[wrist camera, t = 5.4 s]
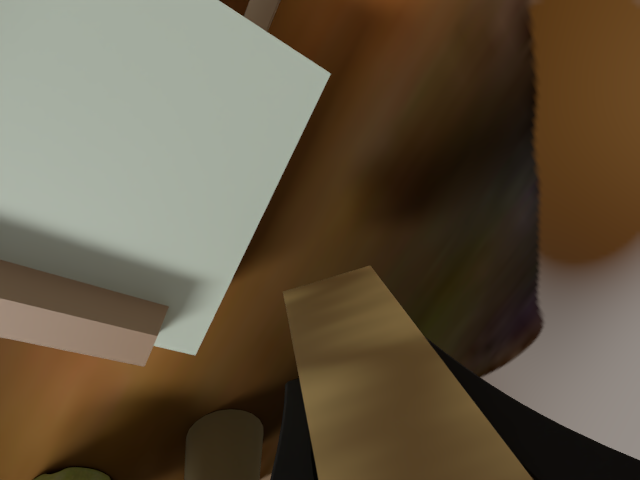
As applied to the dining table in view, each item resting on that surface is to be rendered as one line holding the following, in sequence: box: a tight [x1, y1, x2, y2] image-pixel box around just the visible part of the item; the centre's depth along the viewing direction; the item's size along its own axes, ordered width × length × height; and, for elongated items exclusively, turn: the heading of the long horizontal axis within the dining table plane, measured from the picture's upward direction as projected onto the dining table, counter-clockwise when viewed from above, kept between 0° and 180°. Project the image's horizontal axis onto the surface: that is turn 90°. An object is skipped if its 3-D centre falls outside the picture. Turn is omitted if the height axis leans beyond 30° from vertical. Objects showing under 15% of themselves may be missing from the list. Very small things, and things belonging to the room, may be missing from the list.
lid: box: [0, 0, 331, 366], centre depth 11 cm, size 12×14×3 cm
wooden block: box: [283, 266, 533, 480], centre depth 10 cm, size 4×4×10 cm
